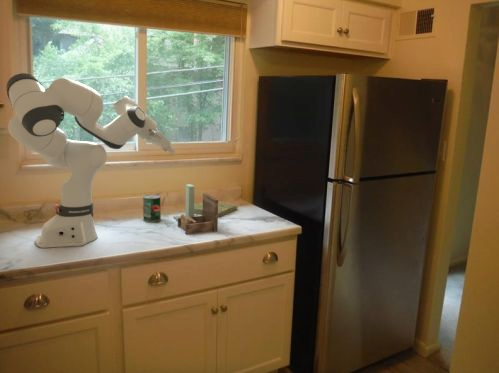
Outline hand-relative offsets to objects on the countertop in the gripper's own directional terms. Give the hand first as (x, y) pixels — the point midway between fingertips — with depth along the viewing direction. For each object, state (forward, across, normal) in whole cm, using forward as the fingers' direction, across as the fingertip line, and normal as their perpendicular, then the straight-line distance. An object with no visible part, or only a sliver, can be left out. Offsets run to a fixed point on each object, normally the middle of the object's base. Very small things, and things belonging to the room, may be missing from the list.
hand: (169, 151), depth 187 cm
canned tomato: (+20, +13, +27) cm, 36 cm away
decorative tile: (+44, +18, +5) cm, 47 cm away
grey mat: (+32, +6, +16) cm, 36 cm away
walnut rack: (+30, -8, +17) cm, 36 cm away
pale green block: (+31, +6, +15) cm, 35 cm away
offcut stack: (+28, -8, +20) cm, 35 cm away
